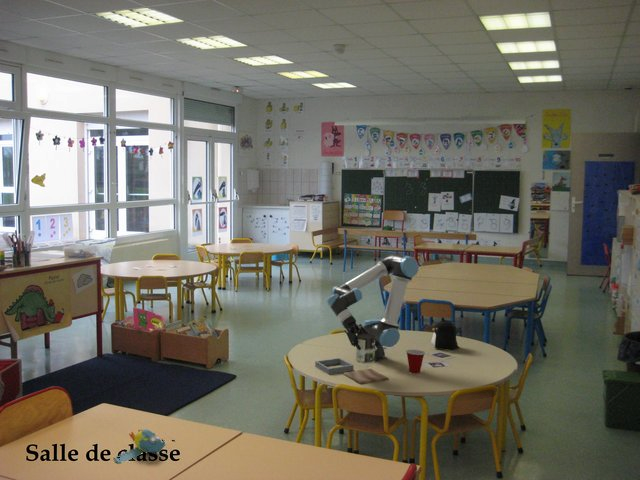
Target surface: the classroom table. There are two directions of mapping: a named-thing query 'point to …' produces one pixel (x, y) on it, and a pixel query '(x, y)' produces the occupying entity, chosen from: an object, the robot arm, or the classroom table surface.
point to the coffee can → (366, 348)
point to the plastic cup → (415, 360)
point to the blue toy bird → (142, 445)
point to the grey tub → (343, 368)
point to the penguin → (444, 335)
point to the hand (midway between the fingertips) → (370, 352)
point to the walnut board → (365, 376)
